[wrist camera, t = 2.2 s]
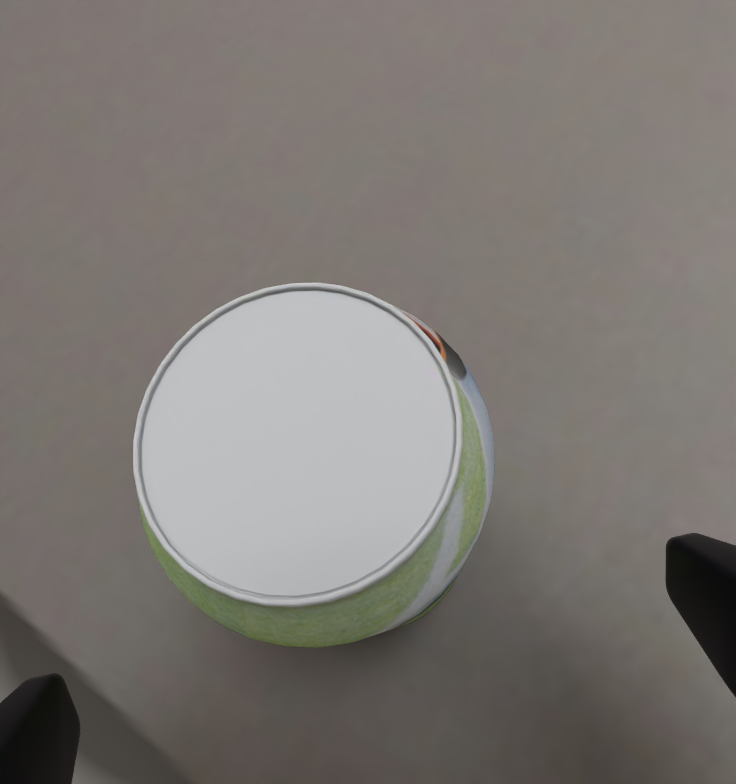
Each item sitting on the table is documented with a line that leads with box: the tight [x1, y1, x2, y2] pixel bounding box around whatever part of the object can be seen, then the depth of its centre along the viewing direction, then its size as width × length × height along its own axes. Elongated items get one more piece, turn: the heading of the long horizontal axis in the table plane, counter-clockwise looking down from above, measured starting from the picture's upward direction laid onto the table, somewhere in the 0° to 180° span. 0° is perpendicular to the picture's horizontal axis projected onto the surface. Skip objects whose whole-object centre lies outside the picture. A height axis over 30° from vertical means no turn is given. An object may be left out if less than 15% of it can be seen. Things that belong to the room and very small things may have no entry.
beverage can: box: [133, 283, 495, 648], centre depth 14 cm, size 6×7×12 cm
